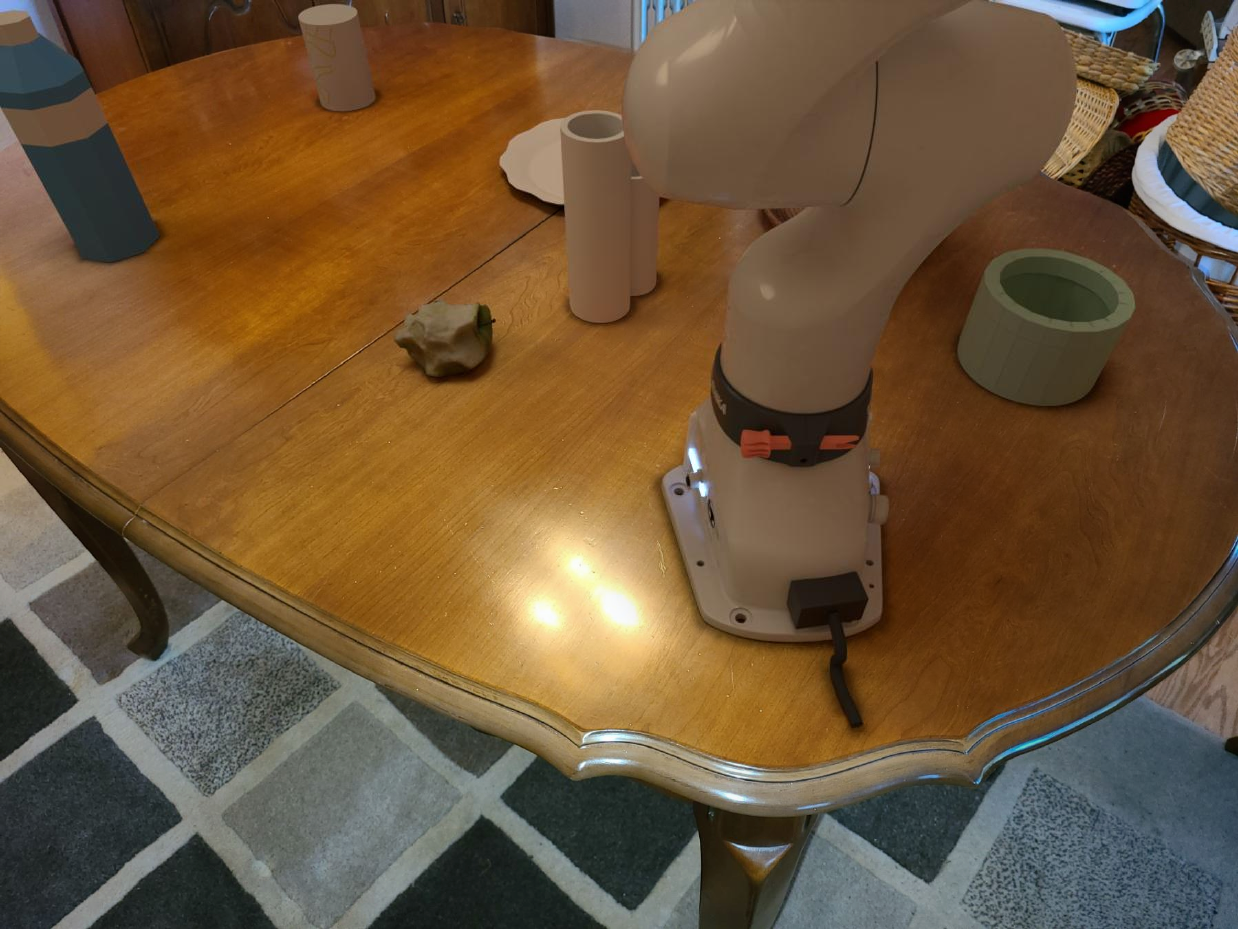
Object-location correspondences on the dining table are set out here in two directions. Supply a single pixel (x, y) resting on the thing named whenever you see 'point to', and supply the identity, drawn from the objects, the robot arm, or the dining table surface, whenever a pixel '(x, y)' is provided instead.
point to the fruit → (447, 337)
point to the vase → (605, 218)
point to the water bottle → (70, 144)
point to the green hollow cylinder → (1043, 326)
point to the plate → (536, 162)
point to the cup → (337, 56)
